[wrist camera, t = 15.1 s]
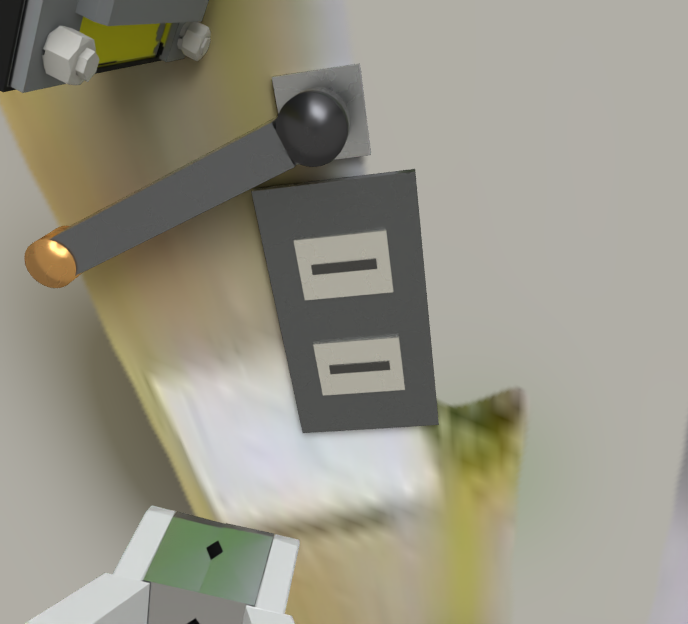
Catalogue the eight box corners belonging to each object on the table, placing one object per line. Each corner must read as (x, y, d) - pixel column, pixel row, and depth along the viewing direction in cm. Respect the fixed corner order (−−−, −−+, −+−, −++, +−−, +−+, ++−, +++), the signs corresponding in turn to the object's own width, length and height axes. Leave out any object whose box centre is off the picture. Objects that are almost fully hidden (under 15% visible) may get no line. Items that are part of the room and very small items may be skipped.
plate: (415, 169, 43) (415, 173, 42) (438, 419, 53) (438, 427, 52) (253, 188, 45) (250, 192, 44) (304, 427, 55) (302, 435, 54)
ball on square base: (359, 63, 41) (356, 66, 38) (371, 153, 43) (368, 161, 41) (273, 76, 42) (265, 80, 39) (289, 163, 44) (282, 172, 42)
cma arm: (331, 74, 38) (326, 79, 35) (362, 138, 40) (359, 148, 37) (35, 233, 45) (10, 247, 42) (71, 282, 47) (49, 299, 44)
